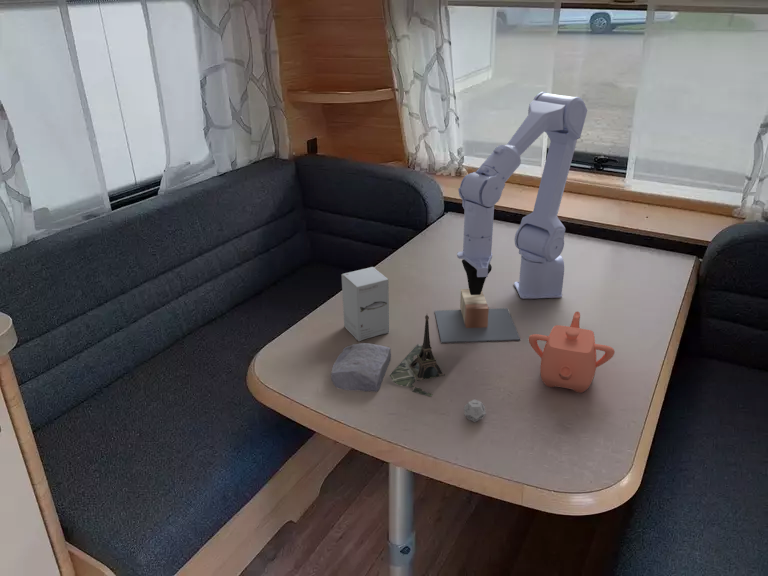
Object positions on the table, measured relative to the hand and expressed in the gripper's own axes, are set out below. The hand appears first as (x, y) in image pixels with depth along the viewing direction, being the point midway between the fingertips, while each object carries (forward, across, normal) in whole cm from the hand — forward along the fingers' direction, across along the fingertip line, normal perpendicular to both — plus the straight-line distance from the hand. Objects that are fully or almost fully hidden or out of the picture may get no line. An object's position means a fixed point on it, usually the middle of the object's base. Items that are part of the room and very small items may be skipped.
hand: (475, 293), depth 131 cm
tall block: (+4, -5, 0) cm, 7 cm away
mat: (+6, +2, 0) cm, 7 cm away
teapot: (+7, +22, +14) cm, 27 cm away
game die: (+7, +33, -5) cm, 34 cm away
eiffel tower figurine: (+7, +18, -12) cm, 23 cm away
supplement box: (+7, +3, -23) cm, 24 cm away
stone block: (+7, +18, -24) cm, 31 cm away
